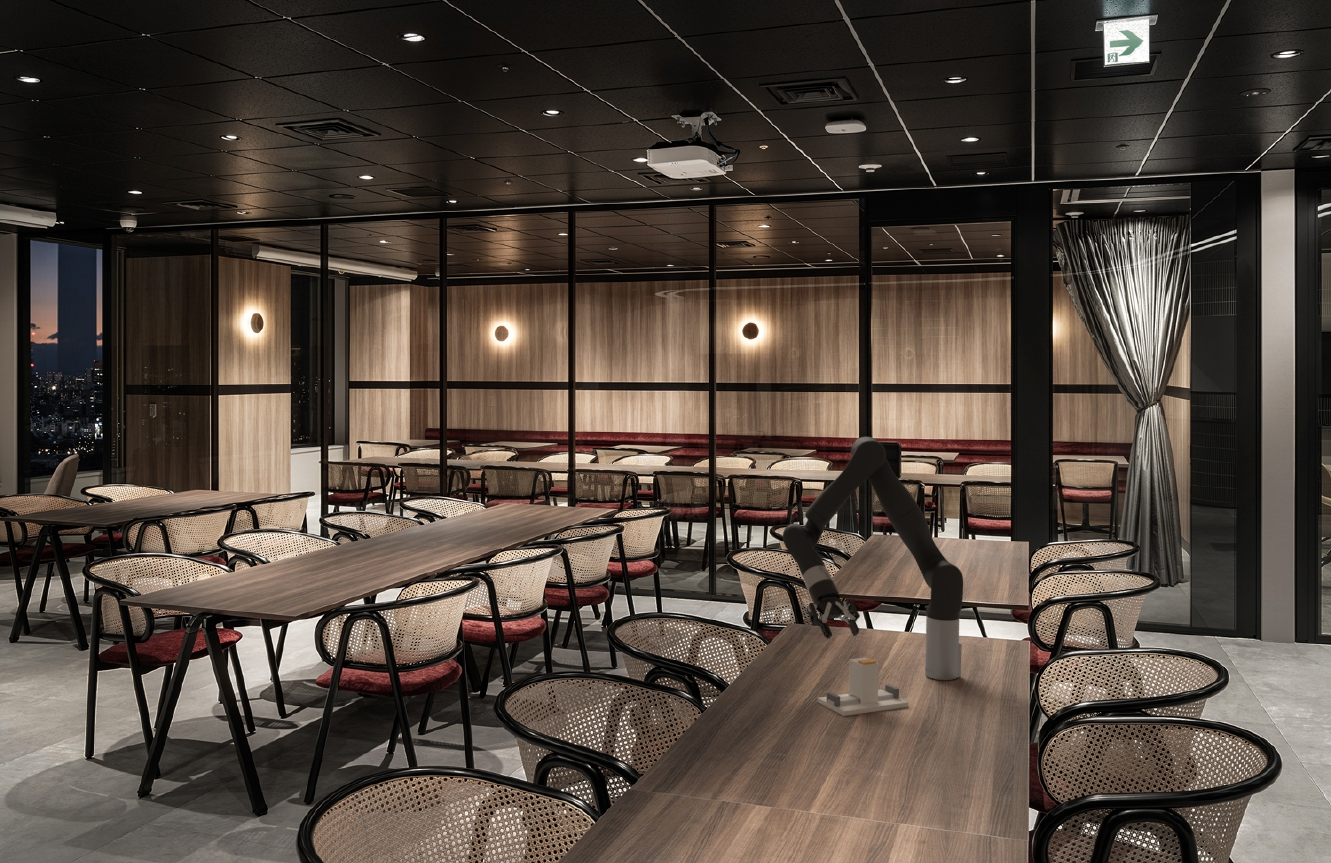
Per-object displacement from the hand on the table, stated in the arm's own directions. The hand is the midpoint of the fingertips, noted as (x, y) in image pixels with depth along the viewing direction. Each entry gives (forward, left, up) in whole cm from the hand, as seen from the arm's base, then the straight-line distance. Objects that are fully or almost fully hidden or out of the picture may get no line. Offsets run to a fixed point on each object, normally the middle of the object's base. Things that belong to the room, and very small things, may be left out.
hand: (843, 635), depth 272 cm
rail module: (0, +10, -15) cm, 18 cm away
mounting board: (0, +10, -16) cm, 19 cm away
